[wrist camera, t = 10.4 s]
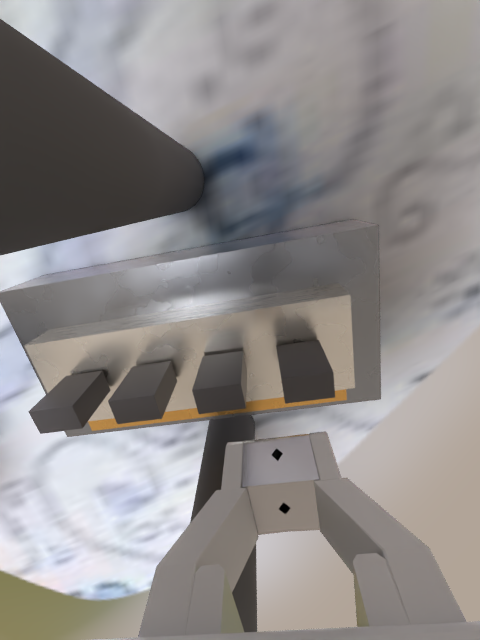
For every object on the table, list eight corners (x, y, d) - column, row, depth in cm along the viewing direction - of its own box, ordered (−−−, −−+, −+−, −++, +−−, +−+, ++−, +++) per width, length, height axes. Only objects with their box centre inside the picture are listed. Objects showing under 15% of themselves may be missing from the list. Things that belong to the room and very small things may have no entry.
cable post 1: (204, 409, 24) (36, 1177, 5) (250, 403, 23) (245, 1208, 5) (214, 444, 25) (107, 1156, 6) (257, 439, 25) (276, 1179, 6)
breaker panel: (43, 275, 20) (-37, 305, 14) (352, 218, 18) (397, 229, 12) (96, 399, 24) (48, 461, 18) (358, 364, 22) (395, 422, 16)
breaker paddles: (66, 375, 16) (28, 411, 13) (318, 339, 14) (333, 371, 12) (74, 395, 16) (40, 433, 13) (320, 361, 15) (335, 397, 12)
